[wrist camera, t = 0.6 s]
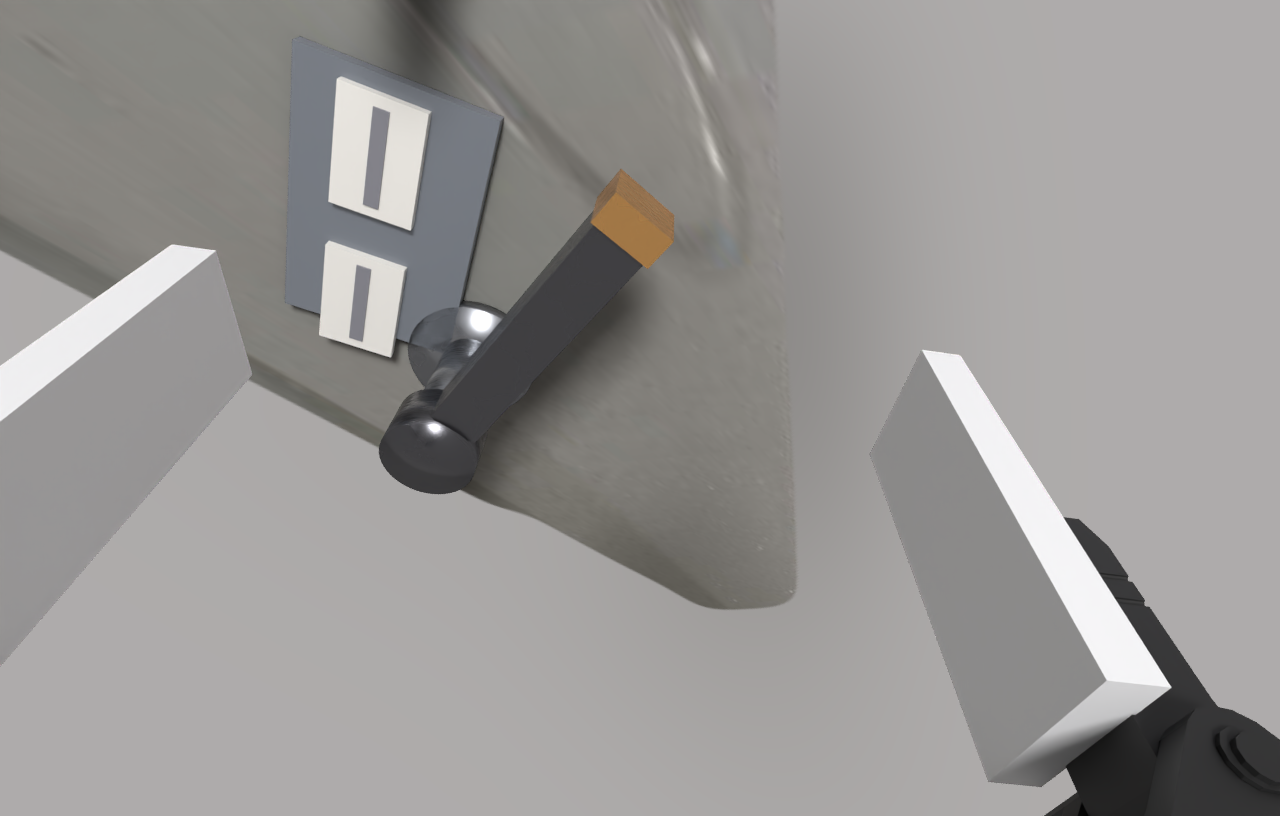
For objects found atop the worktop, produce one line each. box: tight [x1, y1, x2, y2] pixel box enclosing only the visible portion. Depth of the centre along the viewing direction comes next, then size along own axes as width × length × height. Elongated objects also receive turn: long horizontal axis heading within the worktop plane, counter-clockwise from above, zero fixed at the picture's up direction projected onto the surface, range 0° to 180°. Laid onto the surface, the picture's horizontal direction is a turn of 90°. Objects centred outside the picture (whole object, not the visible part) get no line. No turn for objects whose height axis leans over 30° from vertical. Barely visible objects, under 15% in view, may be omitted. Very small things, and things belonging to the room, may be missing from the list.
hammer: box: [379, 169, 674, 494], centre depth 31 cm, size 20×5×3 cm, turn 139°
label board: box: [285, 37, 504, 358], centre depth 36 cm, size 10×16×1 cm, turn 159°
